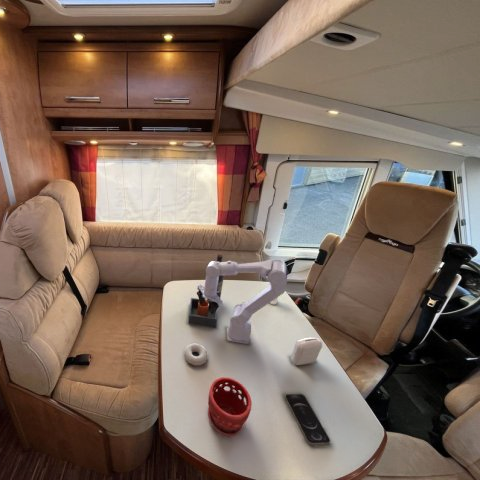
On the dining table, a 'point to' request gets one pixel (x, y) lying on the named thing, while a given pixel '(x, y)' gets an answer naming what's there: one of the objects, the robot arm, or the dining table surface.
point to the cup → (273, 300)
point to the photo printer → (306, 351)
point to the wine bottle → (220, 281)
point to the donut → (195, 359)
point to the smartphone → (307, 419)
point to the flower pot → (228, 406)
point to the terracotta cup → (203, 309)
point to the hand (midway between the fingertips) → (207, 308)
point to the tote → (201, 320)
